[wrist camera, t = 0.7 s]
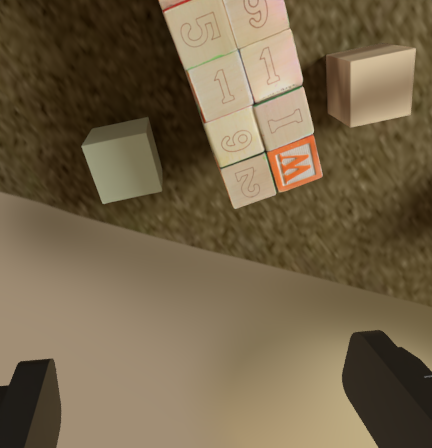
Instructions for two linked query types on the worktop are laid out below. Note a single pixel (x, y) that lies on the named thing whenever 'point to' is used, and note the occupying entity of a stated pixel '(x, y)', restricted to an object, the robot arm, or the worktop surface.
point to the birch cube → (370, 83)
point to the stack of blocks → (247, 93)
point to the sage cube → (123, 160)
